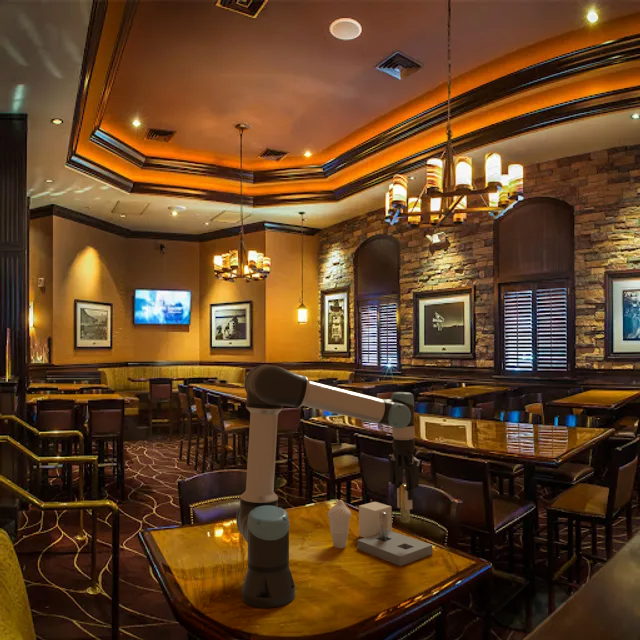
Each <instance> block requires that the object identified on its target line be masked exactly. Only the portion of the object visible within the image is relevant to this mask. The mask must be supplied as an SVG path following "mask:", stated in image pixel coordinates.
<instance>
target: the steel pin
mask: <svg viewBox="0 0 640 640" xmlns="http://www.w3.org/2000/svg"><path fill="white" fill-rule="evenodd" d="M379 538H380V540H381V541H387V540H388V512H385V511H381V512H379Z"/></svg>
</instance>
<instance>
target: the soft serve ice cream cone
mask: <svg viewBox="0 0 640 640" xmlns="http://www.w3.org/2000/svg"><path fill="white" fill-rule="evenodd" d="M327 516H328V521H329V527H330V529H329V531H330V533H331V538H332V543H333V548H335V549H344V548H346V547H347V543H348V536H349V531H350V529H349V528H350V523H351V522H350V520H351V517H352V512H351V510H350V509H349V508H348V507H347V506H346V503H345V502H344V501H343V500H342V499H339V500H338V501H337V502H336V503H335V504H334V505H333V506H332V507H331V508H329V509H328V512H327Z"/></svg>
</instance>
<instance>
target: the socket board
mask: <svg viewBox="0 0 640 640" xmlns="http://www.w3.org/2000/svg"><path fill="white" fill-rule="evenodd" d="M356 542H357V544H356V545H357V549H358V550H360V551H361V552H365V553H367V554H369V555H372V556H374V557H377V558H379V559H382V560H384V561H386V562H389V563H392V564H394V565H397V566H400V567H402V566H405V565H407V564H410V563H412V562H416V561H419V560H421V559H423V558H425V557H426V558H427V557H428V556H431V555H433V554H434V553H433V544H431V543H428V542H425V541H422V540H420V539H416V538H413V537H411V536H407V535H404V534H402V533H399V532H395V531H393V530H392V531H390V530H388V540H387V541H381V540H380V538H379V533H378V534H375V535H372V536H369V537H366V538H364V537H362V538H360V539H357V541H356Z"/></svg>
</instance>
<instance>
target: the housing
mask: <svg viewBox="0 0 640 640" xmlns="http://www.w3.org/2000/svg"><path fill="white" fill-rule="evenodd" d="M392 508H393V507H392V506H391V505H387V504H385V503H381V502H378V501H372V502H368V503H364V504H361V505H358V535H359V537H362V538H366V537H369V536H372V535H375V534H378V533H379V512H381V511H385V512H388V530H390V531H393V523H392V522H393V520H392V519H393V518H392V516H393V515H392V514H393V513H392Z"/></svg>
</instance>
